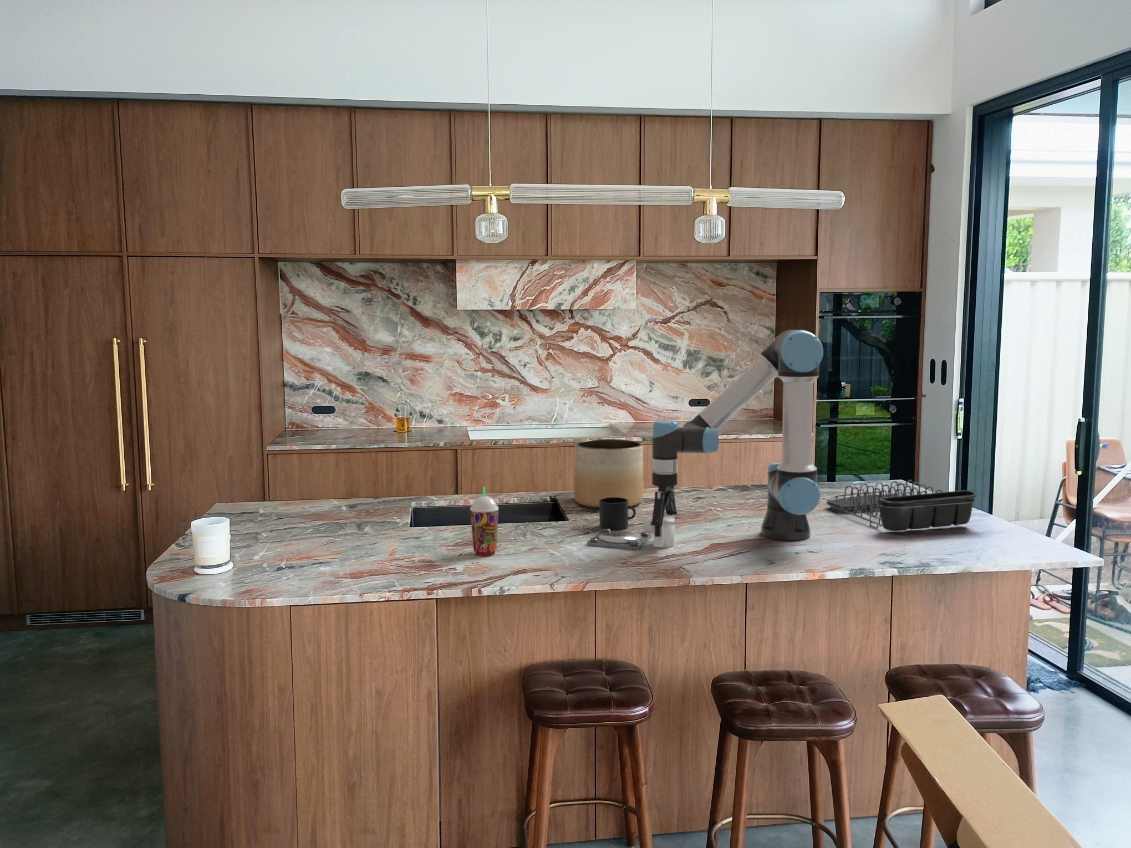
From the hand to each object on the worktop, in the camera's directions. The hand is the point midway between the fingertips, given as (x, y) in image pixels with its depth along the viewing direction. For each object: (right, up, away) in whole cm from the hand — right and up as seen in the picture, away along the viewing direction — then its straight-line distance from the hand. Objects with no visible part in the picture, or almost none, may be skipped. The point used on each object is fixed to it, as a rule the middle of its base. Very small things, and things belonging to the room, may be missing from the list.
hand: (664, 541), depth 270 cm
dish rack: (+82, +3, +34) cm, 89 cm away
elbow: (-1, -1, +1) cm, 2 cm away
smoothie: (-54, -3, -9) cm, 54 cm away
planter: (-14, +6, +59) cm, 61 cm away
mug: (-13, +1, +23) cm, 26 cm away
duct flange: (-13, -1, +5) cm, 14 cm away
